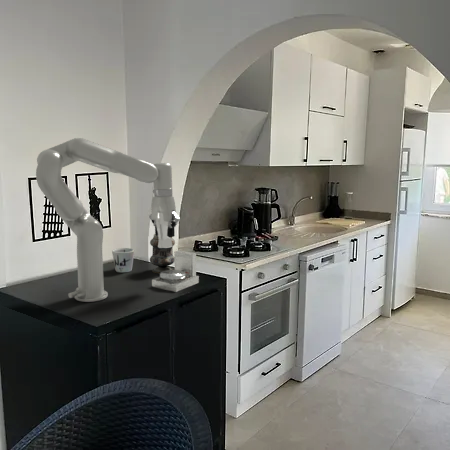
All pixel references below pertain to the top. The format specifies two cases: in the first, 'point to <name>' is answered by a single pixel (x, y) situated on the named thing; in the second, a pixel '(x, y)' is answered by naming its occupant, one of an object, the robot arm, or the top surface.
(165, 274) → the scale pan
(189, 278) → the scale
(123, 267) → the mug
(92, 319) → the top surface
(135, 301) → the top surface
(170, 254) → the apothecary jar
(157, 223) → the beer glass
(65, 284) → the top surface
